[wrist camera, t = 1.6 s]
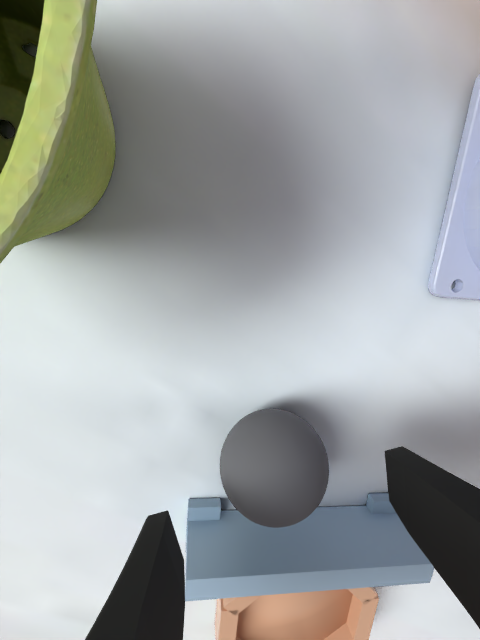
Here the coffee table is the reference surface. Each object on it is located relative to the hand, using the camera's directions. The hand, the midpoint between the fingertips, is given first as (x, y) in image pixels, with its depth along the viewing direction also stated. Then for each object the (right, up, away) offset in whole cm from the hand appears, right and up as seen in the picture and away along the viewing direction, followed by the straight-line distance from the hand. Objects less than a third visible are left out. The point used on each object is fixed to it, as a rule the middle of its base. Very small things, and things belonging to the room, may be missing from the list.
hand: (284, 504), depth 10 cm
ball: (0, +1, +4) cm, 4 cm away
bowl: (+1, -8, +6) cm, 11 cm away
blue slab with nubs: (+1, -3, +5) cm, 6 cm away
